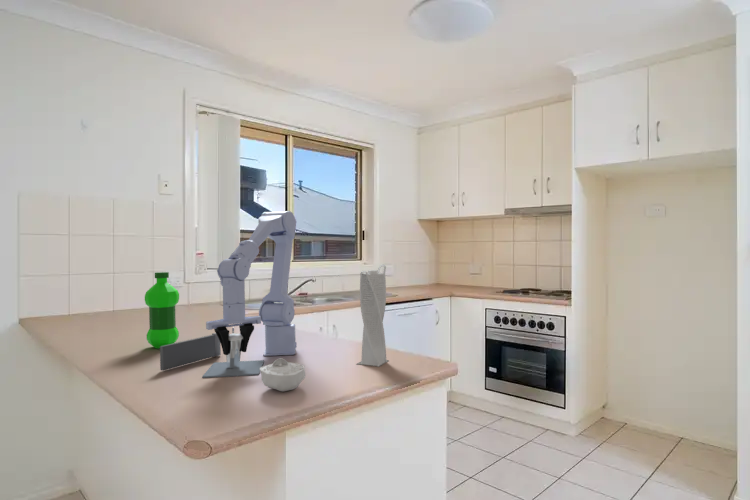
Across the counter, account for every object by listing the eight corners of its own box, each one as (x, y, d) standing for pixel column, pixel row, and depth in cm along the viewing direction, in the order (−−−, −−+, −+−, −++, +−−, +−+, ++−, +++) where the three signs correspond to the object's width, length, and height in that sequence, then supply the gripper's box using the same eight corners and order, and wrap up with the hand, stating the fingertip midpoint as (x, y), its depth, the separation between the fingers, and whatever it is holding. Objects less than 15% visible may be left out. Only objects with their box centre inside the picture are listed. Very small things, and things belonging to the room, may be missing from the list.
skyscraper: (393, 362, 131) (392, 264, 130) (382, 369, 123) (380, 265, 123) (367, 359, 134) (365, 263, 134) (354, 366, 127) (352, 265, 127)
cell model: (265, 400, 99) (265, 369, 99) (256, 385, 110) (256, 357, 110) (311, 393, 103) (310, 363, 103) (298, 379, 114) (297, 352, 114)
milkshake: (239, 362, 129) (241, 327, 128) (242, 368, 124) (244, 332, 123) (222, 363, 127) (224, 328, 126) (225, 369, 122) (226, 332, 122)
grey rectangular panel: (222, 354, 140) (221, 333, 140) (164, 370, 123) (164, 346, 122) (216, 353, 141) (216, 332, 141) (159, 369, 124) (158, 345, 124)
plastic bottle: (157, 343, 160) (156, 271, 160) (185, 343, 159) (184, 271, 158) (139, 349, 150) (137, 273, 150) (168, 350, 149) (167, 273, 148)
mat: (264, 361, 132) (264, 360, 132) (258, 375, 119) (258, 373, 119) (213, 363, 131) (213, 362, 131) (202, 377, 117) (202, 376, 117)
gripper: (253, 299, 132) (254, 346, 132) (202, 303, 123) (203, 354, 123) (263, 301, 126) (264, 350, 126) (210, 306, 118) (211, 359, 118)
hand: (234, 352), depth 125 cm, fingers closed on milkshake, 4 cm apart
